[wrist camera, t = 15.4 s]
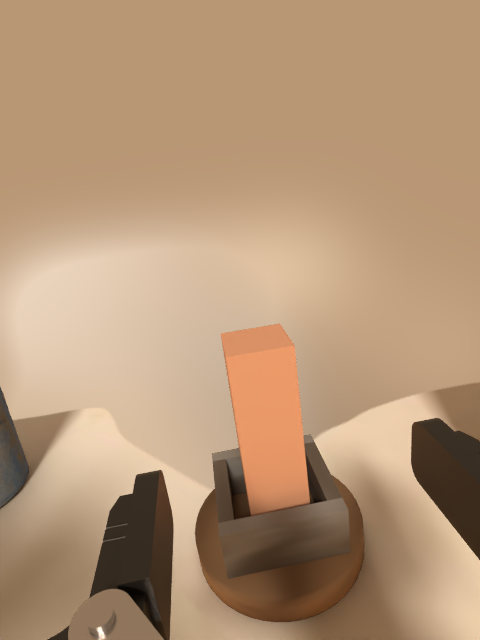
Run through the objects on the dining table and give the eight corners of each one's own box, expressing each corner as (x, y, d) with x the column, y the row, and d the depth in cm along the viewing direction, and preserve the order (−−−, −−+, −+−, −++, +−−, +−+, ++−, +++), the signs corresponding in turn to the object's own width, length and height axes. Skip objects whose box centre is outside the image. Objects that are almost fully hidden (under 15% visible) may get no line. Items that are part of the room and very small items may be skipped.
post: (255, 544, 27) (225, 357, 23) (247, 501, 31) (220, 333, 26) (313, 533, 27) (294, 345, 23) (298, 491, 31) (279, 323, 27)
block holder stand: (202, 642, 23) (185, 573, 22) (198, 495, 35) (187, 442, 33) (396, 598, 24) (395, 529, 23) (330, 469, 36) (326, 416, 34)
